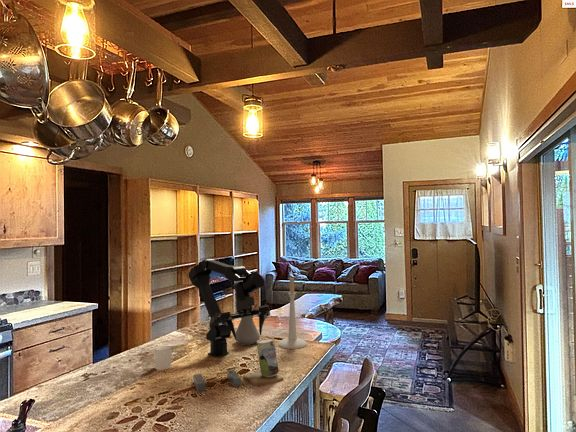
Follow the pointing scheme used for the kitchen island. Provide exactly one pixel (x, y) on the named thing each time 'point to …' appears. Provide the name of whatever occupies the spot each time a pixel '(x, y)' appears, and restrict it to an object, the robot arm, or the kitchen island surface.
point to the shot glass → (162, 357)
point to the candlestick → (292, 325)
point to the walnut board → (261, 378)
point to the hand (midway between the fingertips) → (248, 337)
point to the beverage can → (267, 358)
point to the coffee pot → (247, 331)
